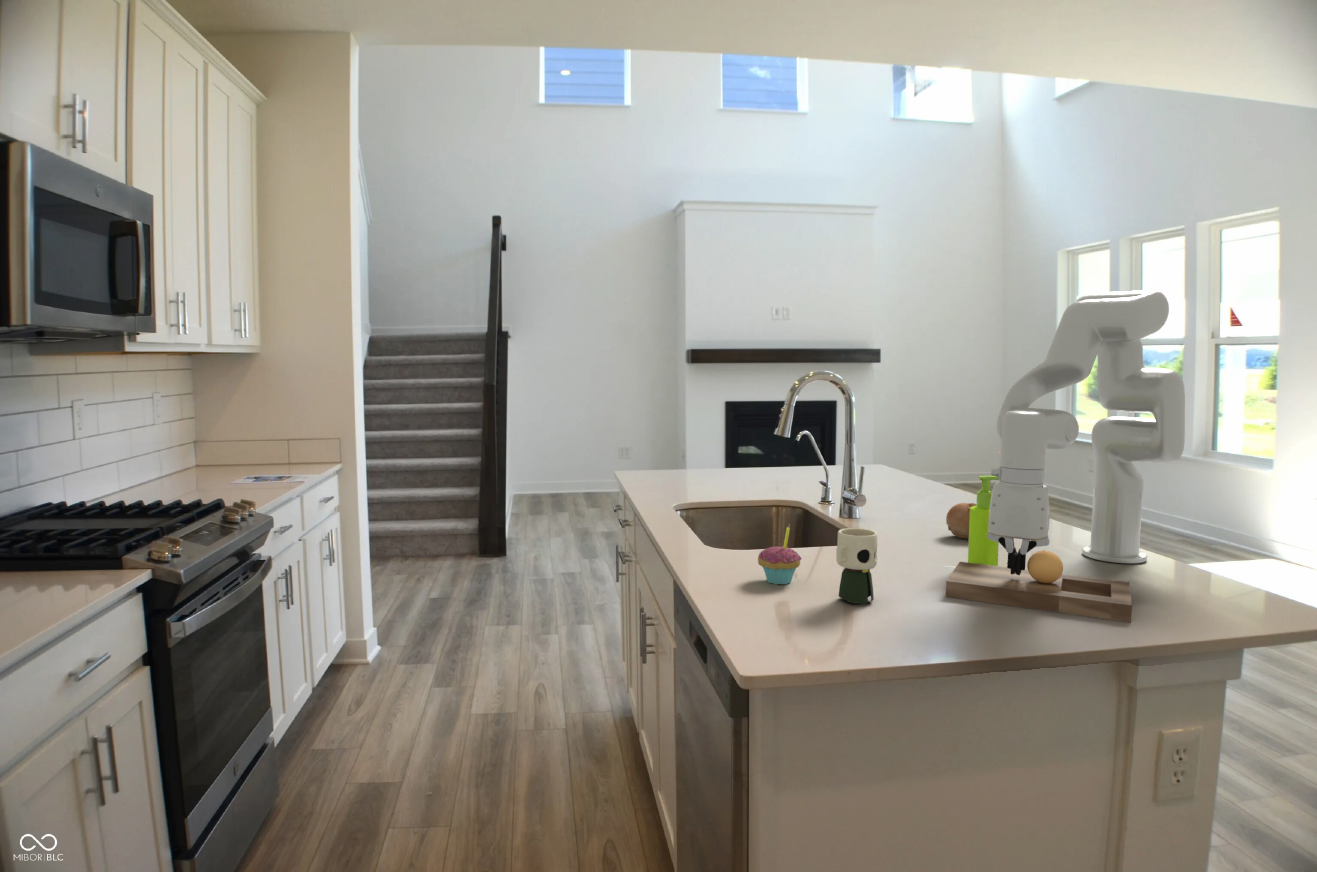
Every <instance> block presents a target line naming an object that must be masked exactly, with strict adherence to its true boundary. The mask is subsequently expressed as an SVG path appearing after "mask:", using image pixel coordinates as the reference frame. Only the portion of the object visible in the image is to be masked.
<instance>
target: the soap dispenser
mask: <svg viewBox="0 0 1317 872" xmlns="http://www.w3.org/2000/svg"><path fill="white" fill-rule="evenodd" d="M977 479H978V480H979V481H981V488H980V489H979V490H977V491H976V503H975V504H976V506H972V507H970V520H969V539H968V545H967V546H968V547H967V548H968V549H967V563H976V564H984V565H992V566H999V564H998V563H999V544H1000V543H999V542H996V541H993V540H990V539H988V538H987V535H988V531H989V530H988V522H989V511H990V503H991V496H992V491H993V490H991V481H999V478H998V477H996V476H991V475H978V478H977Z"/></svg>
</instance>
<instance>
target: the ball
mask: <svg viewBox="0 0 1317 872" xmlns="http://www.w3.org/2000/svg"><path fill="white" fill-rule="evenodd" d="M1026 568H1027V570H1028V572H1029V574H1030V575H1031V576H1032V578H1034V579H1035V580H1036V581H1038V582H1041V583H1052V582H1055V581H1056V580H1058V579H1059V578H1060V576H1061V575H1062V574H1063V572H1064V565H1063V562H1062V560H1061V558H1060V556H1058V555H1057V554H1056V553H1054V552H1053V551H1049V550H1040V551H1037V552H1034V553H1032V554H1031V556H1030V557H1029V558H1028V560H1027V565H1026Z"/></svg>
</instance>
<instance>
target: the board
mask: <svg viewBox="0 0 1317 872" xmlns="http://www.w3.org/2000/svg"><path fill="white" fill-rule="evenodd" d="M948 576H949V577H948V578H947V579H946V581H945V582H946V584H945V597H948V598H954V599H961V600H970V601H975V602H976V601H977V602H983V603H990V604H997V605H1005V606H1010V607H1011V606H1012V607H1018V608H1019V607H1020V608H1025V609H1033V610H1039V611H1046V612H1053V611H1055V612H1054V613H1060V612H1061V614H1066V615H1074V614H1077V615H1076V616H1081V615H1082V617H1088V616H1089V617H1091V618H1095V617H1099V618H1098V619H1102V618H1104V620H1110V621H1117V620H1120V621H1119V622H1124V621H1125V623H1132V612H1133V603H1132V602H1133V601H1132V594H1131V593H1132V592H1131V585H1130V581H1126V580H1125V581H1124V580H1116V579H1107V578H1099V577H1093V576H1084V575H1083V576H1082V575H1074V574H1067V573H1066V574H1065V573H1062V575H1061V576H1060V578H1059V579H1058V580H1056V581H1055V582H1052V583H1041V582H1038V581H1036V580H1035V579H1034V578H1032V576H1031V575H1030V574H1029V572H1028V569H1026V568H1025V571H1024V570H1021V574H1020V575H1017V574H1016V573H1015V574H1014V575H1013V574H1011V569H1009V568H1007V566H999V565H998V566H992V565H984V564H976V563H968V561H967V562H966V561H958V564H957V565H956V566H955V568H954V569H953V571H952V572H951V573H950V575H948Z"/></svg>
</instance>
